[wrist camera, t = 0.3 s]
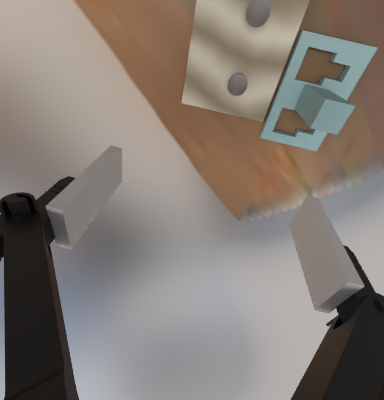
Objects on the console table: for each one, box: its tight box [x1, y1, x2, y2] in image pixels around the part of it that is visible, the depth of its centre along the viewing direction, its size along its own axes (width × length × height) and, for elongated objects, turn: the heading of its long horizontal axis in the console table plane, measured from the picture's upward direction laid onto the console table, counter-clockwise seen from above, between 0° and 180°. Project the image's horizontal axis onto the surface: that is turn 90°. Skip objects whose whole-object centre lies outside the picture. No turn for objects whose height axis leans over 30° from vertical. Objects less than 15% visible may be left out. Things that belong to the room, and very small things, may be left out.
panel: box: [260, 30, 377, 151], centre depth 30 cm, size 15×10×10 cm, turn 169°
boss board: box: [182, 0, 310, 122], centre depth 30 cm, size 18×14×4 cm
